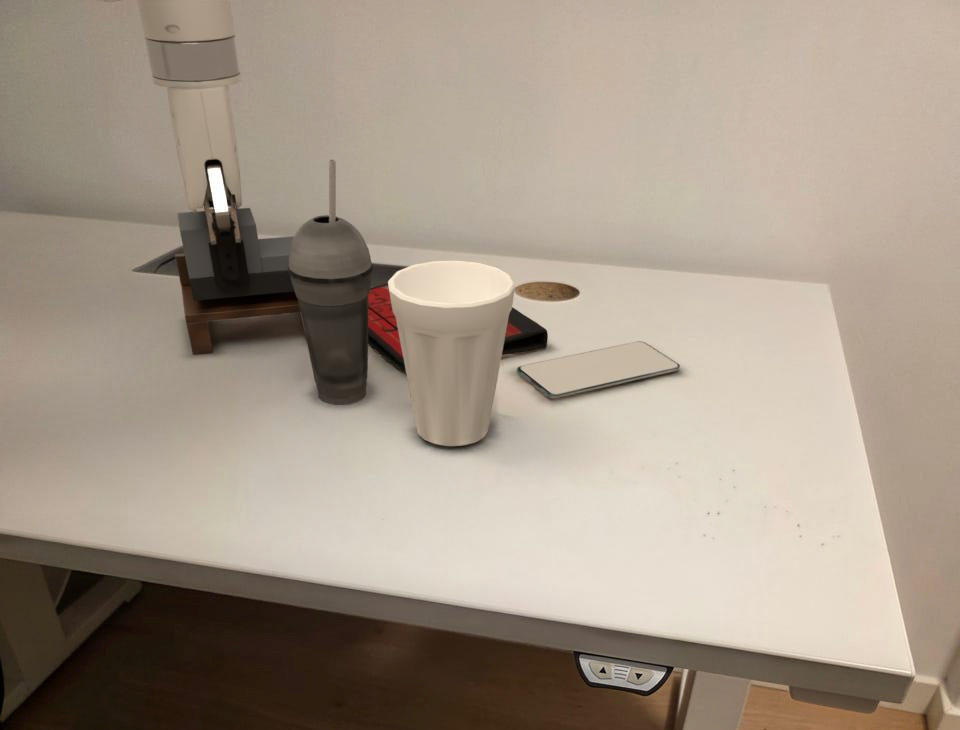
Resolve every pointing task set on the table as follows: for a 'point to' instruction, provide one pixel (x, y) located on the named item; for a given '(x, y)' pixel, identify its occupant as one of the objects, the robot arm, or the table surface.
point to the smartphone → (597, 369)
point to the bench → (226, 309)
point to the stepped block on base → (261, 255)
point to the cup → (452, 344)
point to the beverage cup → (333, 301)
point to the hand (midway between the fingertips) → (229, 271)
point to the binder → (387, 341)
